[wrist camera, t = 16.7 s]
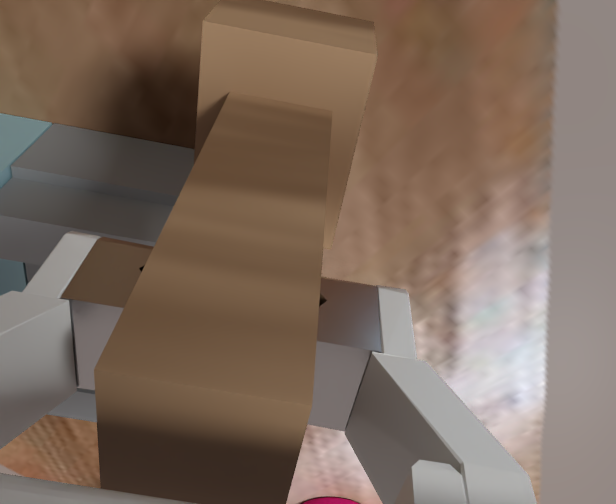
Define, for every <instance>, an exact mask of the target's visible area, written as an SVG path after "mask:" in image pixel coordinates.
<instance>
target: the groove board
mask: <svg viewBox="0 0 616 504" xmlns="http://www.w3.org/2000/svg"><path fill="white" fill-rule="evenodd" d="M194 151H195V149H191V148H186V147H180V146H175V145H169V144H164V143H159V142H153V141H148V140H142V139H137V138H132V137H126V136H121V135H115V134H110V133H105V132H99V131H94V130H88V129H83V128H78V127H72V126H67V125H61V124H56V123H54V124H53V125H52V126H51V127H50V128H49V129H48V130H47V131H46V132H45V133H44V134H43V135H42V136H41V137H40V138H39V139H38V140H37V141H36V142H35V143H34V144H33V145H32V146H31V147H29V148H28V149H27V150H26V151H25V152H24V153H23V154H22V155H21V156H20V157H19V158H18V159H17V160H16V161H15V162H14V163H13V164H12V165H11V171H12V178H11V179H10V180H9V181H8V182H7V183H6V184H5V185H4V186H3V187H2V188H1V189H0V258H1V259H6V260H12V261H18V262H24V263H25V266H26V273H27V280H28V283H29V282H30V280H31V279H32V278H33V276H34V275H35V274H36V272H37V271H38V269H39V268H40V267H41V265H42V264H43V263H44V261H45V260H46V259H47V257H48V256H49V255H50V253H51V252H52V250H53V249H54V248H55V246H56V245H57V244H58V242H59V241H60V240H61V238H62V237H63V236H64V235H65V234H66V233H68V232H70V231H75V232H80V233H86V234H91V235H96V236H100V237H108V238H113V239H118V240H123V241H128V242H133V243H138V244H143V245H148V246H153V247H154V246H155V244H156V242H157V240H158V238H159V235H160V233H161V231H162V229H163V227H164V225H165V223H166V221H167V219H168V217H169V215H170V213H171V211H172V209H173V207H174V205H175V203H176V201H177V199H178V197H179V195H180V193H181V191H182V188H183V186H184V184H185V182H186V180H187V178H188V176H189V174H190V172H191V170H192V168H193V166H194ZM47 414H48V415H55V416H61V417H67V418H73V419H79V420H86V421H92V422H97V415H96V398H95V390H89V389H82V388H77V391H76V392H75V393H74V394H72V395H71V396H70V397H68V398H67V399H66V400H64V401H63V402H62V403H60V404H59V405H58V406H56V407H55V408H54V409H52V410H51V411H50V412H49V413H47Z"/></svg>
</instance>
